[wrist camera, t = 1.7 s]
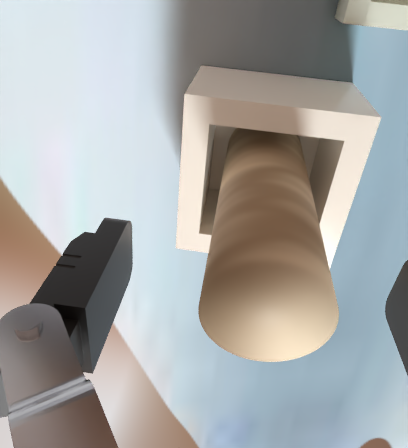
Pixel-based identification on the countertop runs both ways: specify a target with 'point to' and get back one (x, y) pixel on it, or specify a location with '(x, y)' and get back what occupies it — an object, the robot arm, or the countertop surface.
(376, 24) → the tray
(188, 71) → the countertop surface
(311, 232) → the dowel
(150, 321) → the countertop surface
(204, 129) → the holder cup
